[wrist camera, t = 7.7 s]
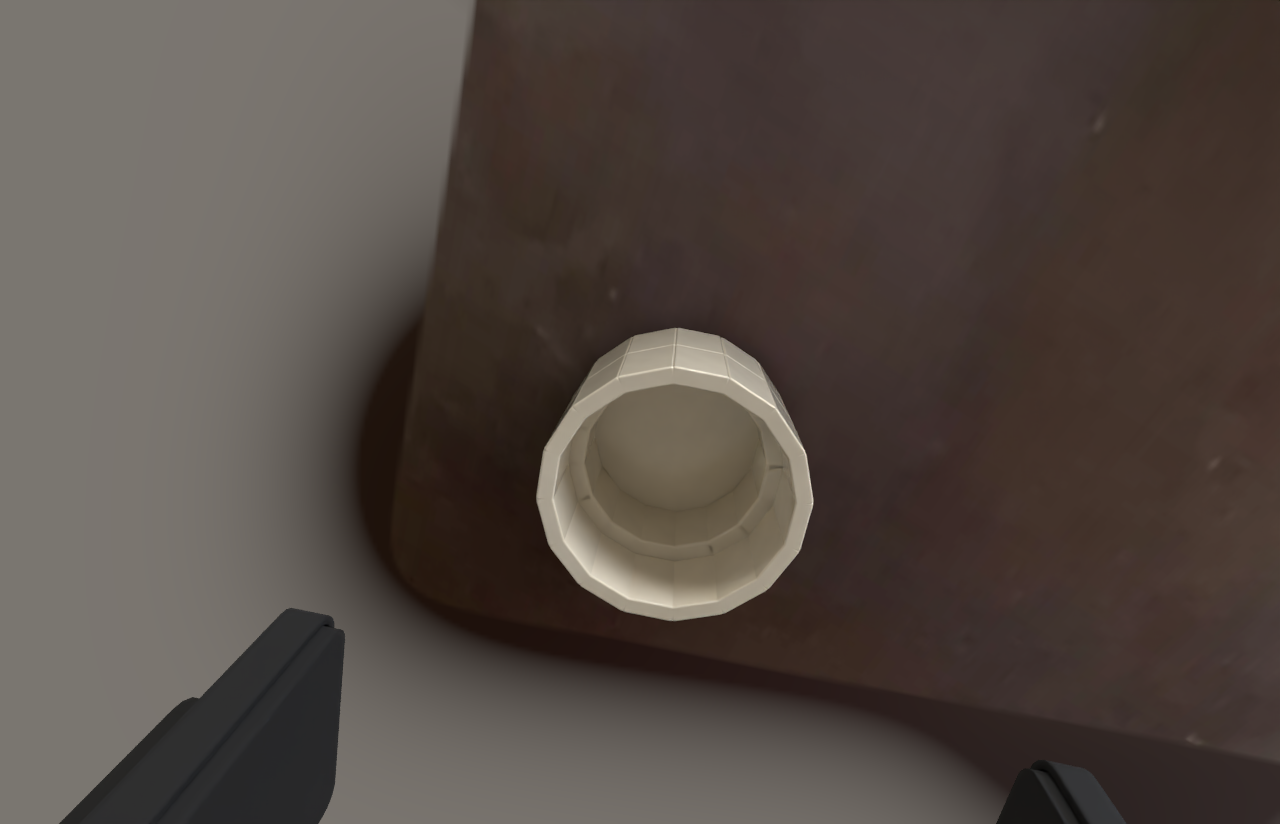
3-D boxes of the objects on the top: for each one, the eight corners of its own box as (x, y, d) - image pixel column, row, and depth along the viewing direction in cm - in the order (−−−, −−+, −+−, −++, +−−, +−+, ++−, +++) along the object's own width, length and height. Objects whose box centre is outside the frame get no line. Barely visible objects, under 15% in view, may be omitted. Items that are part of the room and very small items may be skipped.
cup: (557, 504, 24) (521, 591, 19) (589, 307, 22) (559, 343, 17) (755, 544, 24) (774, 642, 19) (807, 349, 22) (844, 400, 17)
